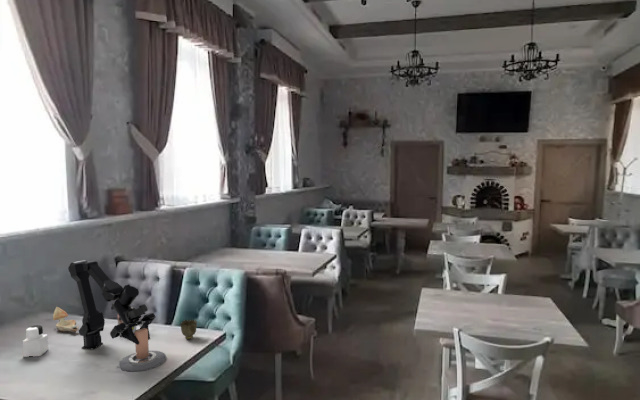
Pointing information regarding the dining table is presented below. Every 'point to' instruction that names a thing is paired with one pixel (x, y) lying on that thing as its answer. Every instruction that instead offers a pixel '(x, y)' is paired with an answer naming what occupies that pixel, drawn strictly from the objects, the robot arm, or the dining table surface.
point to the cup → (188, 328)
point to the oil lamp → (64, 325)
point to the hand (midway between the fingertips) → (143, 341)
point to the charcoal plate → (134, 368)
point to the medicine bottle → (35, 342)
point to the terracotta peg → (142, 343)
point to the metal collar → (132, 362)
